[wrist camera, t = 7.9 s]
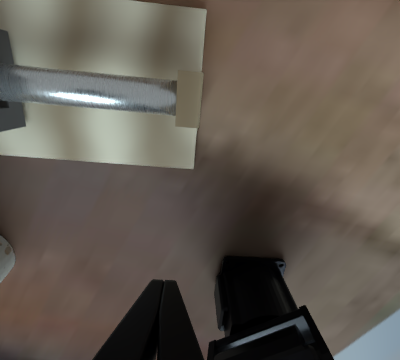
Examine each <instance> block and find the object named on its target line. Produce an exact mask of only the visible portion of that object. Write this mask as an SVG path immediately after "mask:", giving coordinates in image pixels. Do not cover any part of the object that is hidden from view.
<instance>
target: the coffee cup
mask: <svg viewBox="0 0 400 360" xmlns="http://www.w3.org/2000/svg"><path fill="white" fill-rule="evenodd" d="M14 264H15V253H14V250H13V248H12V247H11V245H10V244H9V243H8V242H7V240H6V239H4V238H3V237H2V236H1V235H0V283H1V282H2V280H3V279H4V278H5V277H6V275H7V274H8V273H9V272H10V270H11V269H12V268H13V266H14Z"/></svg>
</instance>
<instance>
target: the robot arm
mask: <svg viewBox="0 0 400 360" xmlns="http://www.w3.org/2000/svg"><path fill="white" fill-rule="evenodd" d="M226 261H229V262H226ZM279 264H281V265H279ZM285 267H286V263H285V262H284V260H283V259H271V258H252V257H233V256H226V257H224V258H223V261H222V267H221V273H220V274H219V275H218V276H217V278H216V285H215V291H214V296H215V305H216V315H217V324H218V329H219V330H220V331H224V332H225V338H222V339H219V340H217V341H216V340H213V341H211V342H209V348H208V356H207V360H334V359H333V357H332V355H331V353H330V351H329V349H328V347H327V345H326V343H325V341H324V340H323V338H322V336H321V334H320V332H319V330H318V328H317V326H316V324H315V322H314V320H313V319H312V317H311V315H310V313H309V311H308V309H307V307H306V305H304V306H301V307H299V309H298V308H297V306H296V304H295V301H294V299H293V297H292V295H291V293H290V291H289V289H288V287H287V285H286V283H285V281H284V279H283V274H284V271H285ZM156 354H157V360H204V358H203V355H202V352H201V349H200V347H199V344H198V341H197V338H196V335H195V333H194V330H193V327H192V324H191V321H190V318H189V316H188V313H187V310H186V307H185V304H184V302H183V299H182V296H181V293H180V290H179V288H178V285H177V282H176V281H175V280H165V281H163V280H155V279H153V280H151V282H150V283H149V284H148V286H147V287H146V288H145V290H144V291H143V292H142V294H141V295H140V296H139V298H138V299H137V300H136V302H135V303H134V304H133V306H132V307H131V308H130V310H129V311H128V312H127V314H126V315H125V316H124V318H123V319H122V320H121V322H120V323H119V324H118V326H117V327H116V328H115V330H114V331H113V332H112V334H111V335H110V337H109V338H108V339H107V341H106V342H105V343H104V345H103V346H102V347H101V349H100V350H99V351H98V353H97V354H96V355H95V357H94V358H93V359H92V360H155V359H156Z"/></svg>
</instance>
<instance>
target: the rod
mask: <svg viewBox="0 0 400 360" xmlns="http://www.w3.org/2000/svg"><path fill="white" fill-rule="evenodd" d="M176 97H177V81H176V80H165V79H155V78H145V77H135V76H124V75H114V74H104V73H94V72H84V71H73V70H63V69H53V68H43V67H32V66H22V65H12V64H2V63H0V100H1V101H12V102H24V103H35V104H46V105H58V106H69V107H80V108H92V109H103V110H114V111H126V112H137V113H148V114H160V115H171V116H176Z"/></svg>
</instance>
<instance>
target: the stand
mask: <svg viewBox="0 0 400 360" xmlns="http://www.w3.org/2000/svg"><path fill="white" fill-rule="evenodd" d="M206 12H207V9H200V8H191V7H183V6H174V5H166V4H157V3H149V2H140V1H132V0H0V29H2V30H5V31H8V35H9V40H10V45H11V50H12V55H13V60H14V65H22V66H32V67H43V68H53V69H63V70H73V71H84V72H94V73H104V74H114V75H124V76H135V77H145V78H155V79H165V80H176V81H177V97H176V116H171V115H160V114H148V113H137V112H126V111H114V110H103V109H92V108H80V107H69V106H58V105H46V104H35V103H24V102H22V107H23V112H24V117H25V122H26V127H21V128H17V129H12V130H7V131H3V132H0V155H9V156H22V157H36V158H49V159H62V160H76V161H89V162H103V163H116V164H130V165H143V166H156V167H170V168H183V169H194V157H195V145H196V133H197V128H198V129H199V122H200V110H201V99H202V87H203V75H204V72H202V60H203V48H204V36H205V24H206Z"/></svg>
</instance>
